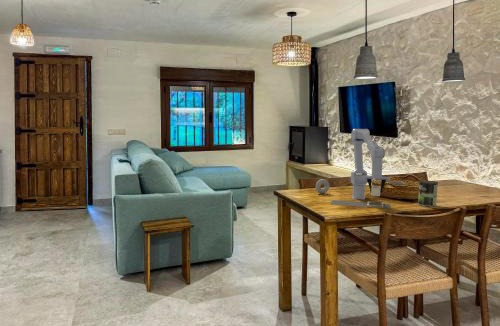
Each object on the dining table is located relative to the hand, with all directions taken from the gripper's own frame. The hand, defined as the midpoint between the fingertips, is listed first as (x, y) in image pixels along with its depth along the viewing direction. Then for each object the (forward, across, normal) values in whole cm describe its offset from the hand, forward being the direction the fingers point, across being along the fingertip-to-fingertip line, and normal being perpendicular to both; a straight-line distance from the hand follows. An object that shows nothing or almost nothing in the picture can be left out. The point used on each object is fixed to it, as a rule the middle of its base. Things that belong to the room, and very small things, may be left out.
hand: (375, 192), depth 247 cm
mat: (+8, -8, 0) cm, 12 cm away
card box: (+1, 0, 0) cm, 1 cm away
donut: (+8, -34, +28) cm, 45 cm away
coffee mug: (+8, +12, +32) cm, 35 cm away
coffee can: (+8, +30, +14) cm, 34 cm away
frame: (+8, 0, 0) cm, 8 cm away
